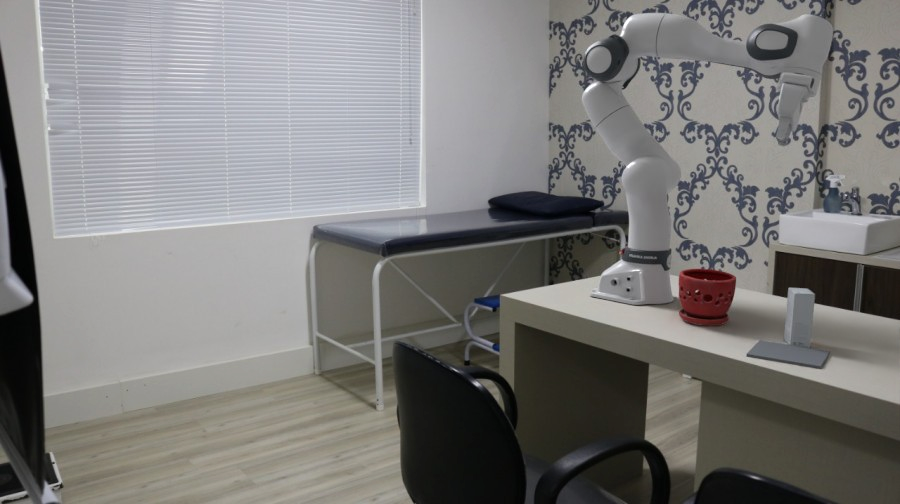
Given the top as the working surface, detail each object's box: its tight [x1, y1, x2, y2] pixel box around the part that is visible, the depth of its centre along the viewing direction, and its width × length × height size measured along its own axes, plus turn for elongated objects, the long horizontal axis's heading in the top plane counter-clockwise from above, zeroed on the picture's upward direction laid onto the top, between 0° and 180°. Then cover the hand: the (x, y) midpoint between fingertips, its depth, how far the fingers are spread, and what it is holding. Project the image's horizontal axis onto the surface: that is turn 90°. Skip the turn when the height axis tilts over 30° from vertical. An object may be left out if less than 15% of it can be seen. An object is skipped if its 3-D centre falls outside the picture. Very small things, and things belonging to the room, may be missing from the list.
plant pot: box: [678, 268, 737, 327], centre depth 180 cm, size 13×13×12 cm
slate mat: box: [745, 339, 831, 369], centre depth 155 cm, size 14×12×1 cm
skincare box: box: [783, 287, 816, 348], centre depth 162 cm, size 6×4×12 cm
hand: (780, 142), depth 176 cm, fingers open, 8 cm apart
